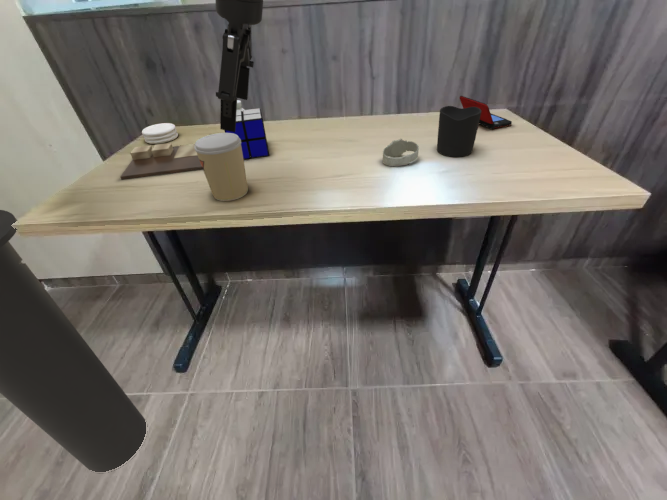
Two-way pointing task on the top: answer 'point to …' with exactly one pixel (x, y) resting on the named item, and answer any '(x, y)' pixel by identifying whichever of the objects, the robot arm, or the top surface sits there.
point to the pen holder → (457, 130)
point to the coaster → (160, 133)
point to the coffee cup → (223, 165)
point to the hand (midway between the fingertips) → (234, 113)
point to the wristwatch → (400, 153)
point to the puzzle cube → (251, 133)
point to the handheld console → (485, 114)
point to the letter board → (161, 160)
